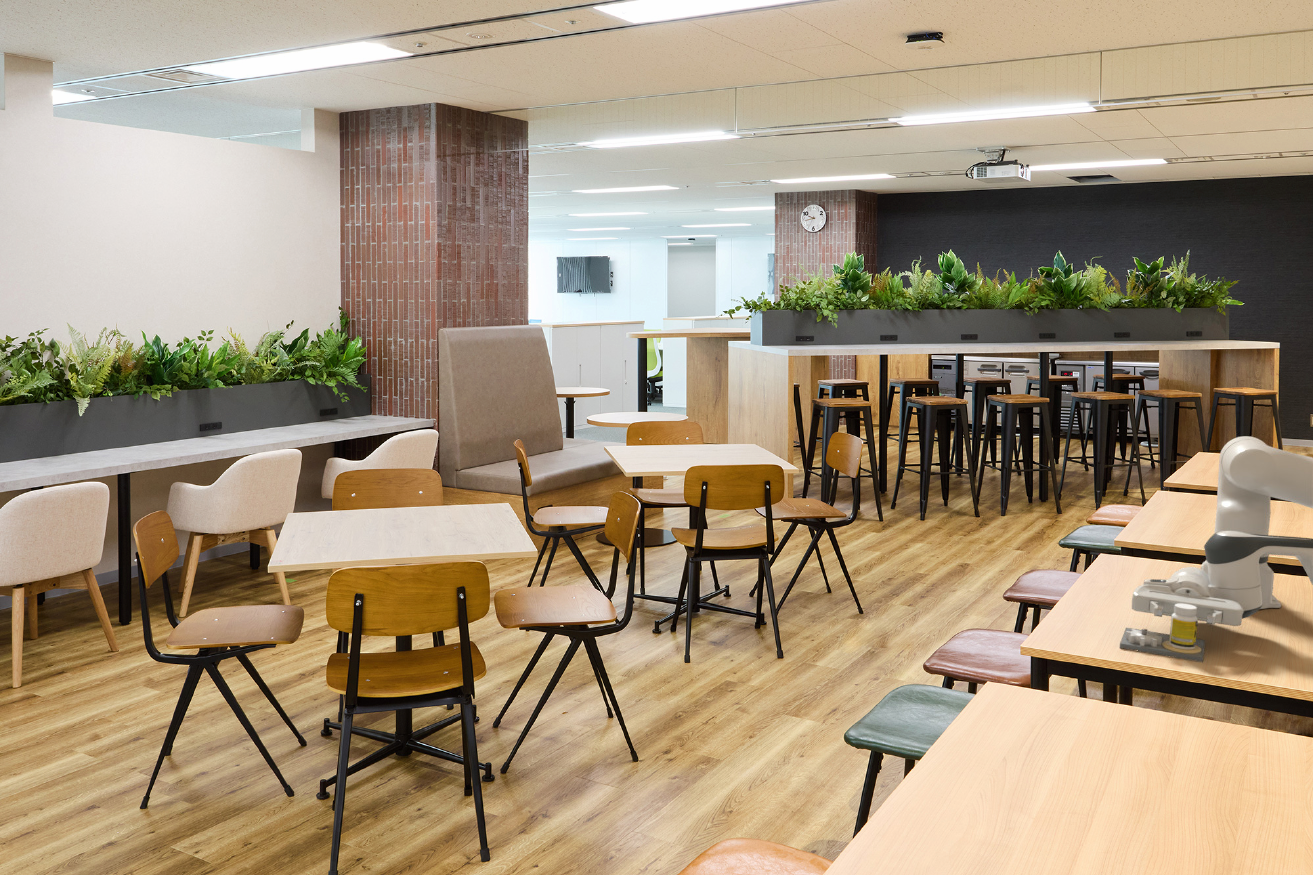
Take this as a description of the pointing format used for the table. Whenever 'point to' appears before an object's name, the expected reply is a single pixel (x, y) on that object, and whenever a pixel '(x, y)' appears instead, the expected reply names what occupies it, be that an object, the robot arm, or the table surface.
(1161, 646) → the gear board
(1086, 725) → the table surface
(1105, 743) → the table surface
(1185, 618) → the supplement bottle
